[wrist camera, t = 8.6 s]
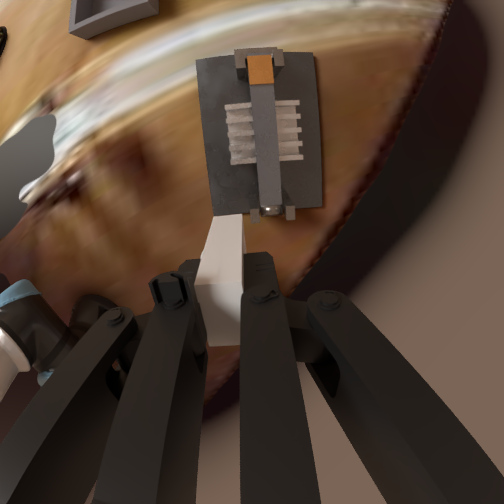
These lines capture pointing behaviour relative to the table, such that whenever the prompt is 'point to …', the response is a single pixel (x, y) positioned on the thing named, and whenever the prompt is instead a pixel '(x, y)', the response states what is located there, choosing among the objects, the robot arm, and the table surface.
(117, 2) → the tray
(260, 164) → the strap
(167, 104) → the table surface
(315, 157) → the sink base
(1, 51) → the figurine
